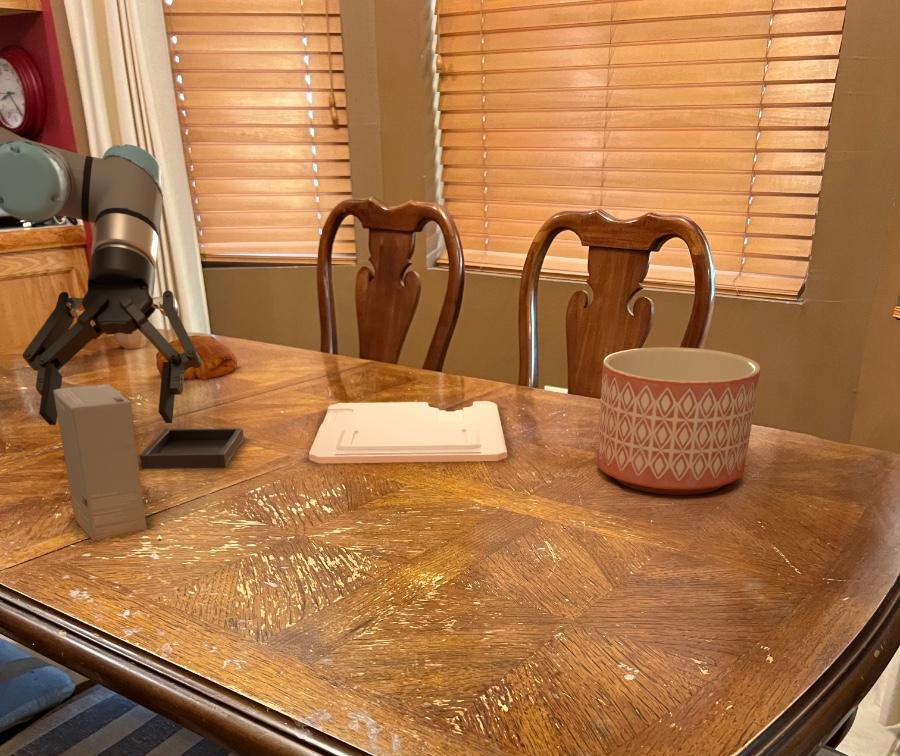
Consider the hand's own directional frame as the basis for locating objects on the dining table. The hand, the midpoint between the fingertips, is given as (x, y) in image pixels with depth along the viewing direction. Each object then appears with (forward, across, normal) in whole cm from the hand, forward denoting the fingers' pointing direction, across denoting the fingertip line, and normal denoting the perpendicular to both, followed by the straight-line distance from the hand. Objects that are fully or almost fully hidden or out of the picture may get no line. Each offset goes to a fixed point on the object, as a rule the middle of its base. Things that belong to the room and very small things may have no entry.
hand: (106, 418), depth 99 cm
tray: (-13, -34, -30) cm, 48 cm away
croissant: (-43, +9, -60) cm, 75 cm away
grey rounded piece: (-61, +30, -78) cm, 103 cm away
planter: (+1, -69, -16) cm, 71 cm away
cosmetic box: (+11, 0, -6) cm, 13 cm away
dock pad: (-7, -3, -24) cm, 25 cm away
